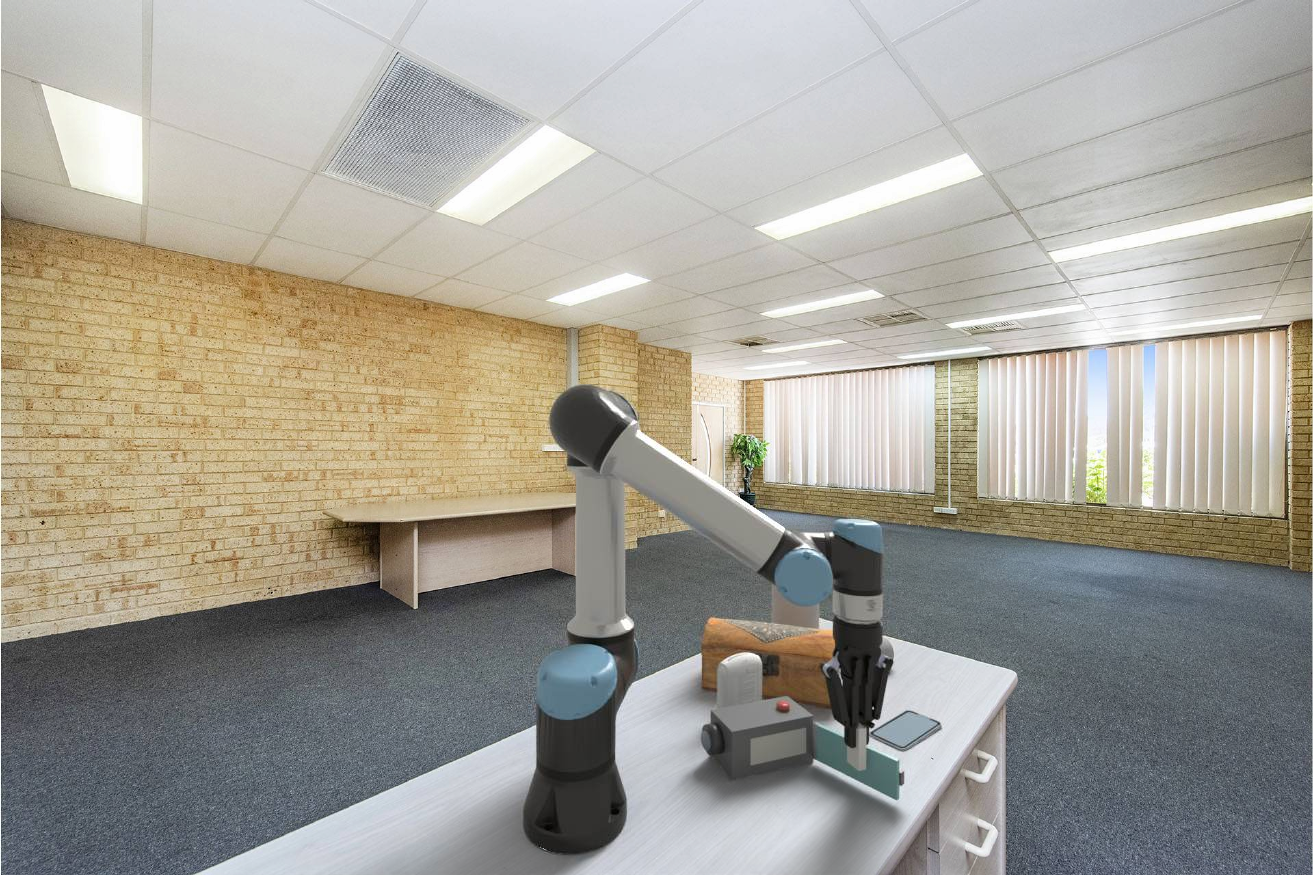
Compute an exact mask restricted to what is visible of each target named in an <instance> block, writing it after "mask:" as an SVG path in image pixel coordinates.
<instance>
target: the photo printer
mask: <svg viewBox="0 0 1313 875" xmlns="http://www.w3.org/2000/svg"><path fill="white" fill-rule="evenodd" d="M762 700H763V698H762V662H761V659H760V657H759V656H758V655H755V654H753V653H739V654H735V655H733V656H730V657H728V658H726V659H725V660H723V661H722V662H721V663H720V664H719V665H718V668H717V692H716V709H717V708H723V707H728V706H734V705H740V704H745V703H751V702H756V701H762Z"/></svg>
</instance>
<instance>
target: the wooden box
mask: <svg viewBox="0 0 1313 875" xmlns="http://www.w3.org/2000/svg"><path fill="white" fill-rule="evenodd" d="M700 648H701V652H700V653H701V654H700V655H701V691H705V692H706V691H707V692H712V691H713V693H717V668H718V665H719V664H720V663H721V662H722V661H723V660H725V659H726V658H728V657H730V656H733V655H735V654H739V653H753V654H755V655H758V656H759V657H760V659H761V662H762V700H767V699H773V698H778V697H784V696H788V697H789V698H791V699H792V700H793V701H795V702H796V703H797V704H799V705H804V706H805V705H806V706H814V707H821V708H825V709H827V708H828V709H831V704H830V699H829V694H828V689H827V684H826V679H825V676H824V674H823V673H822V671H821V669H820V664H821V663H822V662H824V663H826V664H827V663H828V662H829V661H830V660H831V659H832V658H833V651H834V648H835V641H834V638H833V629H832V630H829V629H822V628H821V629H820V628H819V629H813V628H804V627H797V626H791V625H784V624H774V623H772V622H765V621H764V622H763V621H755V620H743V619H730V618H728V619H727V618H719V617H718V618H717V617H714V616H713V617H712V616H711V617H709V618H708V619H707V621H706V623H705V626H704V632H703V635H702V640H701V647H700ZM839 672H840V668H839ZM839 677H840V678H841V676H840V675H839Z"/></svg>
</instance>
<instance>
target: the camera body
mask: <svg viewBox="0 0 1313 875" xmlns="http://www.w3.org/2000/svg"><path fill="white" fill-rule="evenodd" d="M813 723H814V715H813V714H812V713H810V712H809V711H808V710H807V709H806V708H804V707H803V706H801V704H799V703H796V702H795V701H793V700H792V699H791V698H789V697H788V696H784V697H778V698H773V699H762V701H756V702H751V703H745V704H740V705H734V706H728V707H723V708H717V707H716V708H712V709H710V723H706V724H704V725H703V726H702V727H701V733H700V741H701V746H702V747H703V750H704V751H705V752H706V755H708V756H709V757H712V759H713V760H714V761H715V762H716V763H717V765H718V767H719V768H721V769H722V771H723V772H724V773H725V775H726V776H727V777H728V778H729V779H730V781H731V782H732V781H737V780H741V779H746V778H750V777H754V776H758V775H762V774H766V773H771V772H772V773H773V772H776V771H779V770H783V769H789V768H792V767H797V766H802V765H806V764H809V763H813V762H814V759H813Z"/></svg>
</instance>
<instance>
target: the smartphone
mask: <svg viewBox="0 0 1313 875" xmlns="http://www.w3.org/2000/svg"><path fill="white" fill-rule="evenodd" d="M938 729H939V730H940V729H942V722H941V721H939V720H936V719H933V718H931V717H928V716H926V715H924V714H921V713H919V712H916V711H913V710H911V709H910V710H909V709H906V710H904V711H902V712H900V713H899V714H897V715H896V716H894V717H892V718H891V719H889V720H886V721H885V722H884V723H882V724H881V725H879V726H878V727H874V728H873V729H871V730H869V737H870V738H873V739H875V740H877V741H878V742H881V743H884V744H886V745H888V746H889V747H891V748H894V749H896V750H898V751H902V752H905V751H908V750H909V749H911V748H912V747H914V746H915V745H917V744H919V743H920V742H922V741H924V740H925V739H926V738H928V737H930V736H932V735H933V734H934V733H936V732H937V731H939V730H938Z"/></svg>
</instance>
